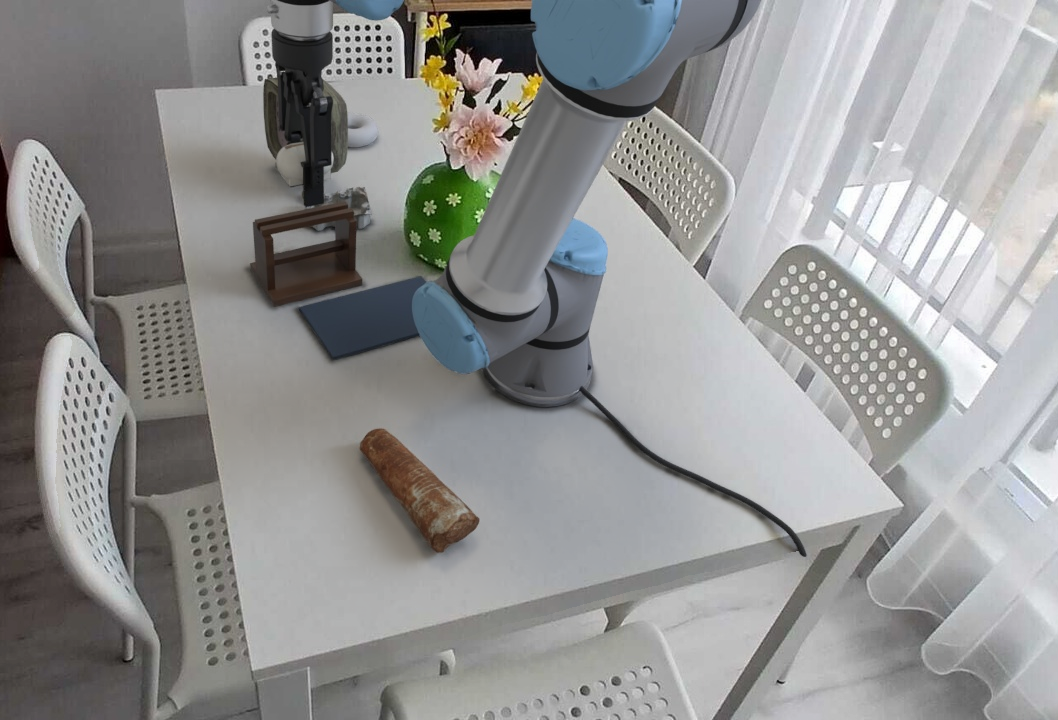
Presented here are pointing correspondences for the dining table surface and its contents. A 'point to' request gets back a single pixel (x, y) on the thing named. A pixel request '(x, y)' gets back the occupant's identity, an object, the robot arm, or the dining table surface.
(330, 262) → the rack
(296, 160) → the white dome-topped canister
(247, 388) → the dining table surface
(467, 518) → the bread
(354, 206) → the egg carton
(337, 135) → the tabletop clock
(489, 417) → the dining table surface
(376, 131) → the donut
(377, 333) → the mat
